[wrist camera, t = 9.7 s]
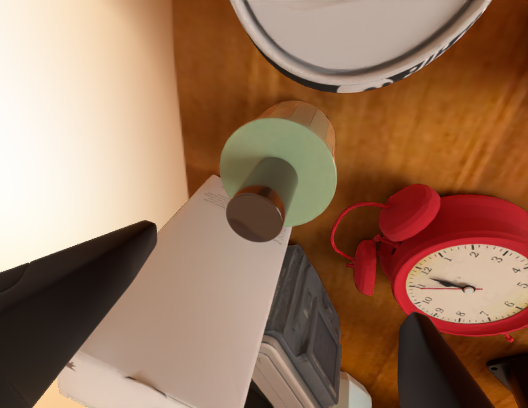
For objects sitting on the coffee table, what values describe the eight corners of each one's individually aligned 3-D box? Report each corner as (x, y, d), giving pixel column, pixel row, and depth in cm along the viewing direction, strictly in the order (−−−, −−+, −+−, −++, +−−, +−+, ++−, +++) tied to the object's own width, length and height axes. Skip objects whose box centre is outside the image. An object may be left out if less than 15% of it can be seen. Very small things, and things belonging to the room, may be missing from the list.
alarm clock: (505, 361, 20) (316, 324, 19) (461, 290, 26) (309, 257, 24) (653, 273, 14) (393, 210, 13) (557, 204, 20) (362, 153, 18)
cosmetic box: (195, 220, 27) (49, 391, 14) (214, 167, 23) (38, 337, 10) (270, 261, 27) (193, 468, 14) (302, 215, 23) (236, 442, 10)
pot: (354, 144, 19) (354, 180, 14) (294, 193, 22) (279, 235, 18) (292, 80, 18) (271, 96, 13) (239, 142, 21) (208, 172, 17)
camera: (256, 245, 26) (213, 341, 18) (313, 235, 24) (292, 341, 16) (298, 323, 31) (278, 428, 23) (350, 321, 28) (348, 439, 20)
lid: (364, 174, 15) (368, 231, 10) (282, 233, 18) (261, 293, 14) (275, 84, 13) (240, 107, 9) (206, 167, 17) (160, 210, 13)
